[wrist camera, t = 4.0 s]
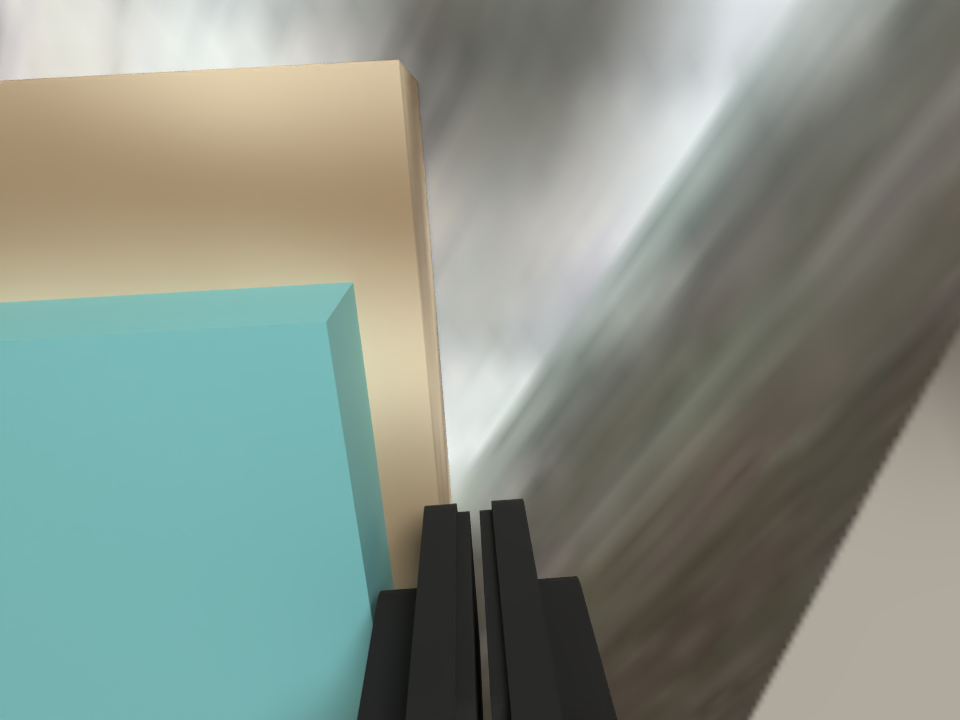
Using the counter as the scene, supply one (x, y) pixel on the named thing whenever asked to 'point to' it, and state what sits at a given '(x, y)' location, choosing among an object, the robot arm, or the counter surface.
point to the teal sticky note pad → (187, 506)
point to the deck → (244, 220)
